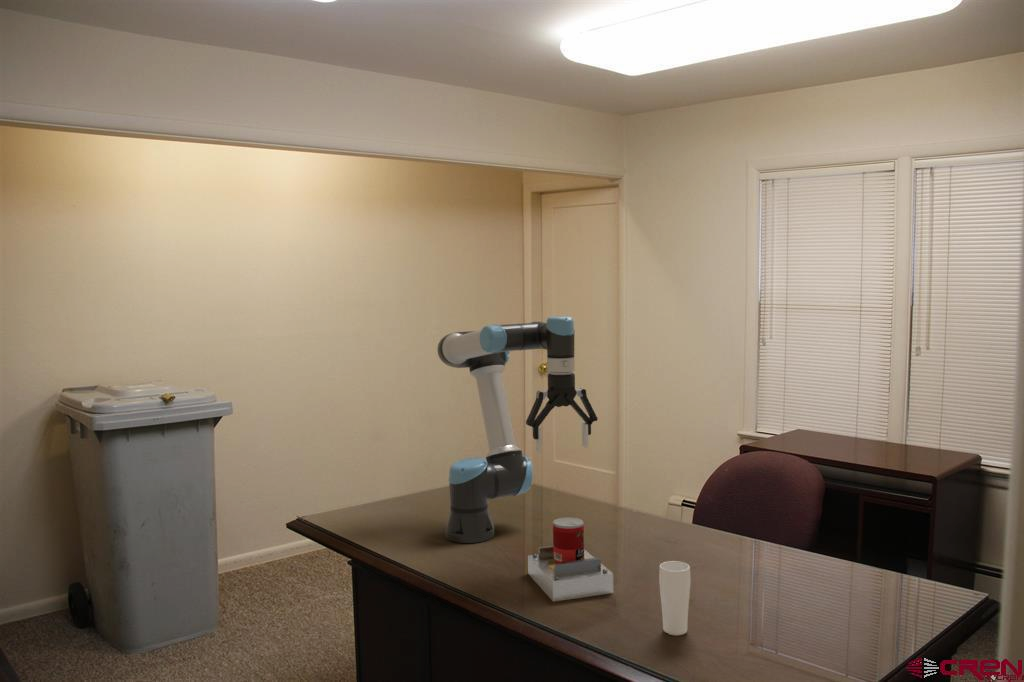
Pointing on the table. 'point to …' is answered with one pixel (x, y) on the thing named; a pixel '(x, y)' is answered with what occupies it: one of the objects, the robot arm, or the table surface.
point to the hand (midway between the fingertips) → (562, 448)
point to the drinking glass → (674, 596)
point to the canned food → (568, 539)
